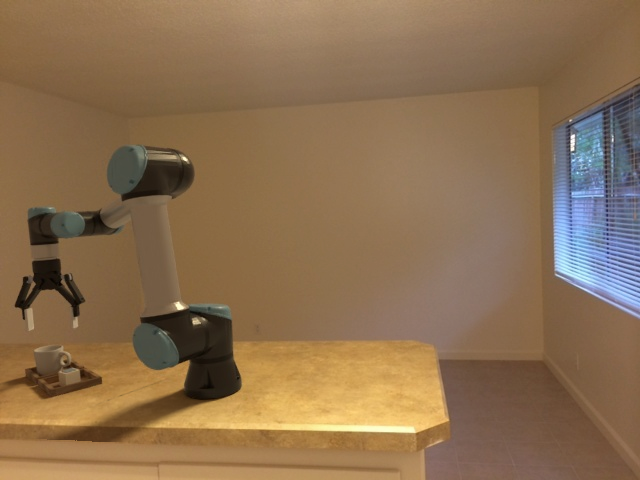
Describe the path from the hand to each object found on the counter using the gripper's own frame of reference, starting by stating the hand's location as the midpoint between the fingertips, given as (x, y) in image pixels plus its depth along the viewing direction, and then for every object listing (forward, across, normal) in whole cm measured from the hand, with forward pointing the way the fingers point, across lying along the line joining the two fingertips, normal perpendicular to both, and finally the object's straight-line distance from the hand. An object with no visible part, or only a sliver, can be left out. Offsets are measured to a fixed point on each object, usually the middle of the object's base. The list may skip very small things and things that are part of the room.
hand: (52, 329), depth 149 cm
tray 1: (+14, +1, 0) cm, 15 cm away
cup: (+14, +1, 0) cm, 14 cm away
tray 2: (+15, -9, +10) cm, 20 cm away
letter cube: (+14, -9, +10) cm, 19 cm away
